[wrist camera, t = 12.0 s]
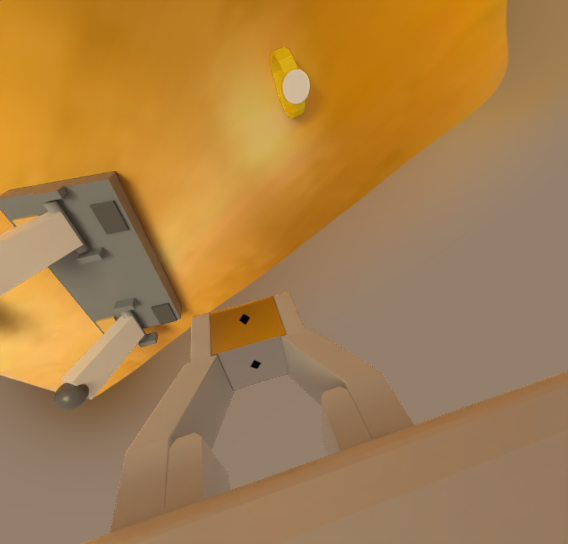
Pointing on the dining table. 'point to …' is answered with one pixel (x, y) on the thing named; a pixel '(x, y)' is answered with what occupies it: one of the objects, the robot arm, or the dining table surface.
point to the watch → (289, 82)
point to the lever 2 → (99, 362)
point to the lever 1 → (37, 245)
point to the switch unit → (103, 251)
